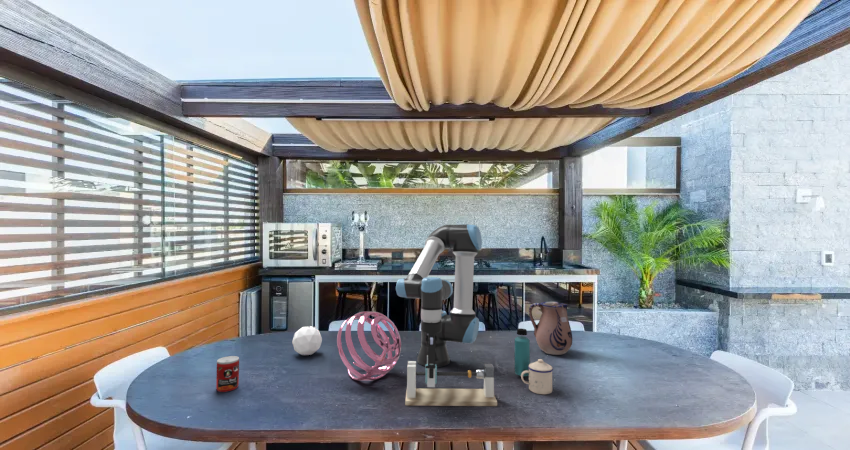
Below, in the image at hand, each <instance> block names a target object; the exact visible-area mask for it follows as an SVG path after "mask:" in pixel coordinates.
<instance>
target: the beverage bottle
mask: <svg viewBox="0 0 850 450" xmlns="http://www.w3.org/2000/svg"><path fill="white" fill-rule="evenodd" d="M516 335H517V336H516V337H515V338H514V356H513V358H514V367H513V369H514V374H515V375H517V376H520V377H521V373H522V372H523V371H529V368H528V366H529V364H530V363H531V355H530V354H531V350H530V348H531V347H530V344H531V343H530V339H529V338H528V337H527V335H528V331H527V329H525V328H517V329H516ZM527 376H528V377H529V373H525V374H524V375H523V377H527Z"/></svg>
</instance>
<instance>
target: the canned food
mask: <svg viewBox="0 0 850 450" xmlns="http://www.w3.org/2000/svg"><path fill="white" fill-rule="evenodd" d="M239 376H240V357H239V356H235V355H230V356H223V357H219V358H218V359H217V360H216V377H215V378H216V383H215V384H216V385H215V389H216V390H217V392H220V393H225V392H231V391H234V390H237V388H238V387H239V384H240V383H239V382H240V381H239V380H240V379H239V378H240V377H239Z"/></svg>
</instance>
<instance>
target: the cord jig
mask: <svg viewBox="0 0 850 450" xmlns="http://www.w3.org/2000/svg"><path fill="white" fill-rule="evenodd" d="M406 370H407V371H406V391H405V400H404V405H405V406H409V407H410V406H414V407H415V406H421V407H422V406H425V407H426V406H427V407H428V406H430V407H431V406H432V407H433V406H436V407H437V406H440V407H445V406H446V407H450V406H451V407H452V406H453V407H498V400H497V399H496V398H497V397H496V395H495V367H494V365H493V364H492V363H483V369H476V370H475V371H472V370H470V369H469V370H467V371H437V377H438V376H443V377H444V376H446V377H448V376H451V377H452V376H453V377H454V376H455V377H458V376H460V377H463V376H464V377H466V376H467V377H468V378H469V379H470V378H472V377H475V379H480V380H481V379H482V380H483V388H430V387H427V388H417V376H425V374H426V372H425V371H417V361H416V360H407V367H406Z"/></svg>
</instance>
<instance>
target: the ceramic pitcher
mask: <svg viewBox="0 0 850 450" xmlns="http://www.w3.org/2000/svg"><path fill="white" fill-rule="evenodd" d="M537 307H538V308H539V309H540V311H541V315H540V318H539V321H538V323H536V321H535V320H534V317H533V312H532V311H533V309H534V308H537ZM528 316H529V319H530V321H531V324H532V326H533V334H534V337H535V340H536V343H537V346H538V347H539V349H540V350H541V351H542V352H544V353H546V354H548V355H552V356H561V355H565V354H566V353H568V351H569V350H570V349H571V347H572V345H573V334H572V328H571V323H570V320H569V317H568V316H569V315H568V304H567V303H565V302H564V303H563V302H562V303H559V302H558V301H542V302H535V303H532V304H530V306H529V308H528Z"/></svg>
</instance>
